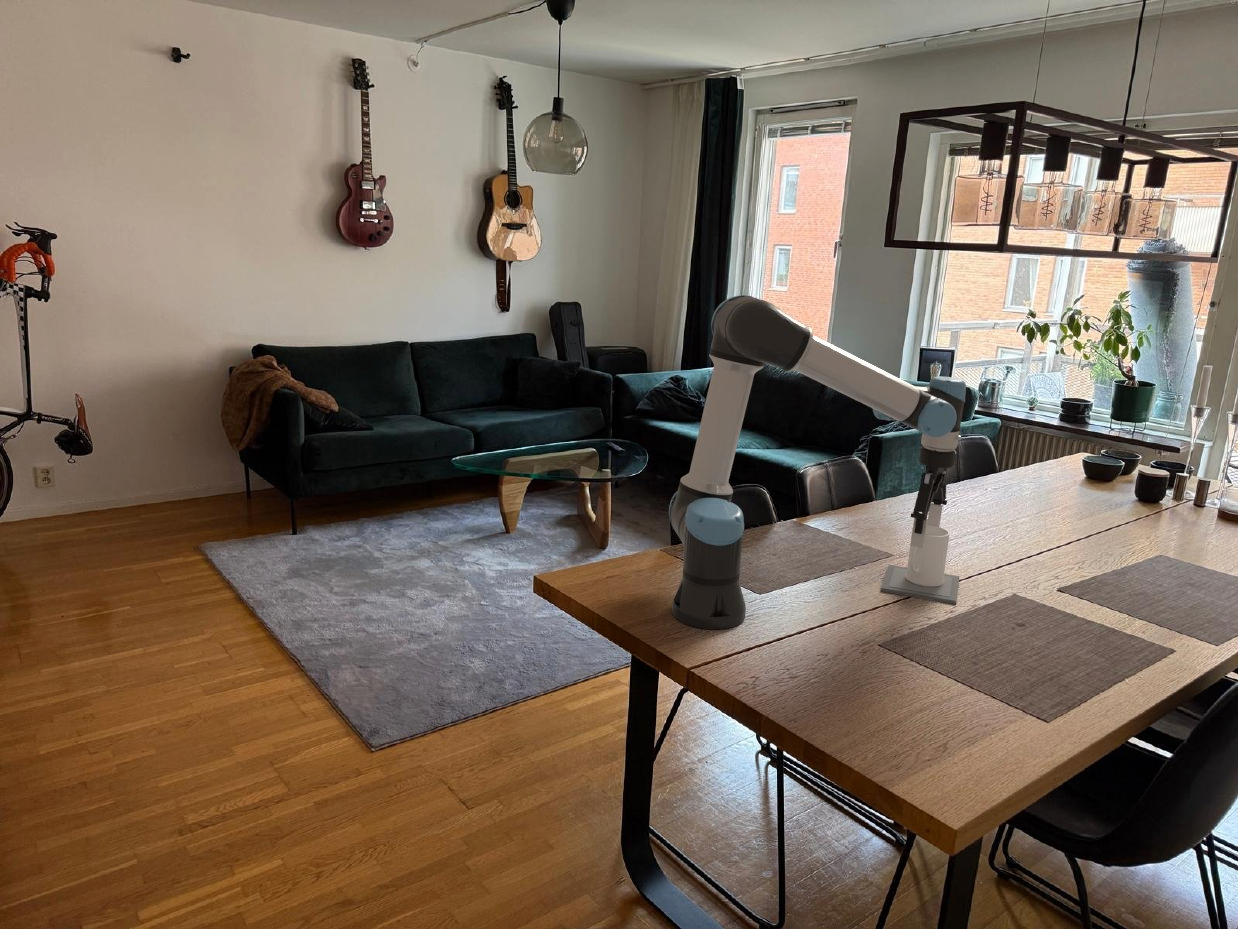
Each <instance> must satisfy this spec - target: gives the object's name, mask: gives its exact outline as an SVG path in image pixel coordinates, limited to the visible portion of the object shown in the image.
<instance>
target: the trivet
mask: <svg viewBox="0 0 1238 929" xmlns="http://www.w3.org/2000/svg"><path fill="white" fill-rule="evenodd" d="M906 572H907V566H899V565H893V564H888V566H887V569H886V572H885V575H884V578H883V581H882V584H881V586H880V592H884V593H890V594H895V595H901V596H905V597H912V598H918V599H922V600H923V599H924V600H928V601H934V602H942V603H946V604H950V605H951V604H952V605H956V604H957V599H958V592H959V582H960V576H959V575H953V574H948V573H944V584H943V585H941V586H937V587H927V586H921V585H917V584H914V583H911V582H909V581H908V580H907V579H906V578H905V575H906Z"/></svg>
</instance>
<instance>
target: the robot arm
mask: <svg viewBox="0 0 1238 929" xmlns="http://www.w3.org/2000/svg"><path fill="white" fill-rule="evenodd" d="M710 324H711V325H710V326H711V327H710V328H711V332H712V333H711V334H712V340H711V345H710V348H709V349H710V350H709V355H708V356H709V358H710V360H711V361H712V363H713V368H712V369H713V370H712V373H711V378H710V382H709V387H708V390H707V395H706V399H705V404H704V406H703V407H704V408H703V412H702V415H701V416H702V417H701V420H700V424H699V425H700V426H699V429H698V434H697V439H696V442H695V447H694V451H693V456H692V460H691V464H690V469H689V472H688V473H687V474H686V475H683V476H682V477H681V478H680V480H679V485H678V488H677V490H676V492H675V493H673V496H672V497H671V500H670V503H669V506H668V515H669V521H670V523H671V524H670V525H671V526H672V529H673V530H674V531H675V533H676V534H677V536H678V539H679V540H680V542H682V545H683V559H682V560H683V564H682V577H681V580H680V582H679V584H678V586H677V588H676V592H675V595H674V597H673V600H672V605H671V606H672V607H671V612H672V616H674V618H675V619H676V620H678V621H679V622H680V623H683V624H685V625H687V626H690V627H694V628H699V629H706V630H723V629H731V628H733V627H737V626H738V625H741V624H742V623H743V622H744V620H745V619H746V613H747V612H746V609H747V607H746V602H745V598H744V595H743V591H742V586H741V583H740V578H741V577H740V576H741V575H740V574H741V573H740V572H741V562H742V561H741V560H742V550H743V549H742V548H743V539H744V538H743V537H744V531H745V523H744V514H743V511H742V509H741V508H740V507H739V506H738V505H737V504H735V503H733V502H731V501H732V499H733V498H732V497H733V493H734V490H733V487H732V486H731V485H730V483H729V482H730V481H729V479H730V476H731V471H732V468H733V464H734V460H735V455H736V451H737V448H738V442H739V438H740V435H741V434H740V433H741V430H742V426H743V422H744V418H745V415H746V411H747V405H748V402H749V398H750V397H749V396H750V394H751V389H752V386H753V381H754V376H755V374H756V373H757V372H758V371H761V370H762V369H763V368H764V367H765V364H766V365H770V366H772V367H775V368H778V369H780V370H782V371H784V372H786V373H790V372H792V371H796V372H798V373H800V374H802V375H804V376H805V377H808V378H810V379H812V380H814V381H816V382H818V383H820V384H821V385H824V386H826V387H829V388H831V389H832V390H835V391H837V392H839V393H841V394H843V395H845V396H847V397H849V398H851V399H853V400H855V401H857V402H860V404H861V403H862V404H863V405H866V406H867V407H869V408H871V409H872V412H873V413H872V414H873V415H874V416H875V417H876V419H878V420H884V421H888V422H890V421H897V422H899V423H901V424H904V425H906V426H908V427H910V428H912V429H913V430H915V431H918V432H919V433H921V434H922V435H921V438H920V439H921V441H920V443H921V447H920V449H919V456H918V463H919V464H921V465H922V466H926V467H927V468H926V472H922V474H921V479H920V484H919V488H918V492H917V496H916V500H915V503H914V506H913V512H912V513H910V518H913V524H912V528H913V530H912V529H911V535H912V537H911V536H910V543H911V544H909V547H910V546H915V547H919V548H924V541H925V535H926V528H927V525H930V526H936V527H940V526H941V517H942V513H943V505H944V506H947V504H948V500H946V499H947V481H948V469H951V468H953V467H954V466H955V462H956V455H957V451H956V449H957V447H958V443H959V442H958V441H961V440H962V436H961V435H960V431H961V430H960V429H961V424H962V419H963V418H962V417H963V412H964V406H965V403H966V392H967V384H966V382H965V381H964V380H963V379H960V378H958V377H950V376H933V377H931V379H930V381H929V384H928V385H925V386H918V385H912V384H911V383H909V382H908V381H907V382H906V381H905V380H903V379H901V378H898V377H897V376H895V375H893V374H891V373H889V372H887V371H885V370H883V369H881V368H879V367H877V366H876V365H873V364H872V363H869V362H867V361H865V360H863V359H861V358H859V357H857V356H856V355H853V354H851V353H850V352H848V351H846V350H843V349H842V348H840V347H838V346H836V345H834V344H831V343H830V342H827V341H826V340H824V339H822V338H820V337H819V336H818V337H817V336H815V335H814V334H813V331H812V329H811V327H809V326H807V325H806V324H804V323H802V322H800V321H799V320H797V319H795V318H794V317H792V316H791V315H789V314H788V313H786V312H785V311H784V310H782V309H780V308H779V307H777V306H776V305H775V304H774V303H772V302H769V301H768V300H764V299H760V298H757V297H754V296H752V295H745V294H741V295H736V296H735V295H734V296H731V297H729V298H727V299H725V300H724V301H722V302H721V303H720V304H719V305H718V306H717V307H716V309H715V311H714V312H713V315H712V318H711V323H710ZM940 528H941V527H940Z"/></svg>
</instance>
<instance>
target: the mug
mask: <svg viewBox="0 0 1238 929" xmlns="http://www.w3.org/2000/svg"><path fill="white" fill-rule="evenodd" d="M912 530H913V527H912V528H911V531H912ZM911 537H912V534H911V536H910V538H911ZM949 541H950V531H948V530H947V529H946V528H942V527H936V526H930V525H927V528H926V535H925V541H924V548H919V547H915V546H910V544H911V542H910V544H909V551H908V560H907V566H906V568H907V572H906V575H905V578H906V579H907V580H908V581H909V582H911V583H914V584H917V585H921V586H927V587H937V586H941V585H943V584H944V574H945V567H946V561H947V555H948V547H949Z"/></svg>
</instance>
